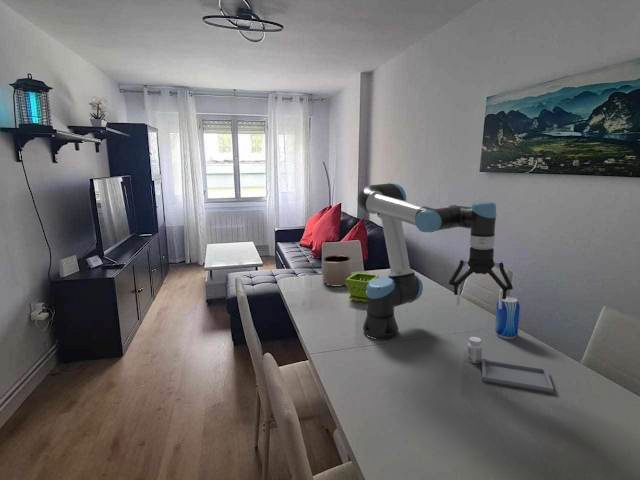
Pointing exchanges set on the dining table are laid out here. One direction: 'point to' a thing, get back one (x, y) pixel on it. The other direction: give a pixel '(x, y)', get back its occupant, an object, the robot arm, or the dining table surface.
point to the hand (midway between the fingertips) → (478, 305)
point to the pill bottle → (474, 350)
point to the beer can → (507, 318)
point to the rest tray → (516, 376)
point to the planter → (336, 269)
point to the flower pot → (359, 286)
